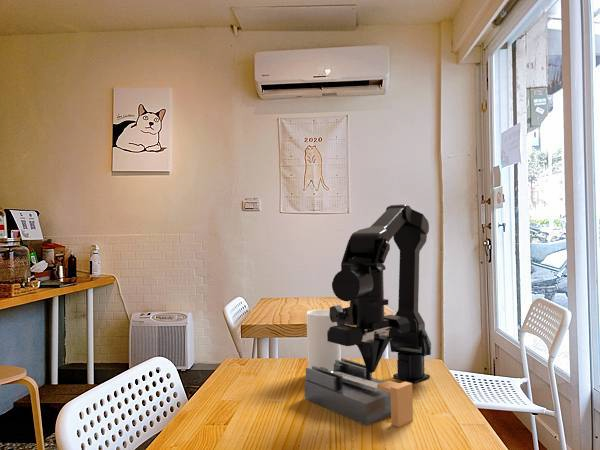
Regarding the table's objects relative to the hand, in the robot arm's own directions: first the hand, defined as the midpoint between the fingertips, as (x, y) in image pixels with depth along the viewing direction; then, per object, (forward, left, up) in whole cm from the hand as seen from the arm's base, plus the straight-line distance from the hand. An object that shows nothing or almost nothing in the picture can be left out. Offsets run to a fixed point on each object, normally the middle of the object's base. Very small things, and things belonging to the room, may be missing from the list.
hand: (371, 372), depth 90 cm
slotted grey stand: (0, -5, -8) cm, 9 cm away
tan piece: (0, +6, -8) cm, 10 cm away
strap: (0, -5, -3) cm, 6 cm away
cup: (-7, -22, -8) cm, 25 cm away
